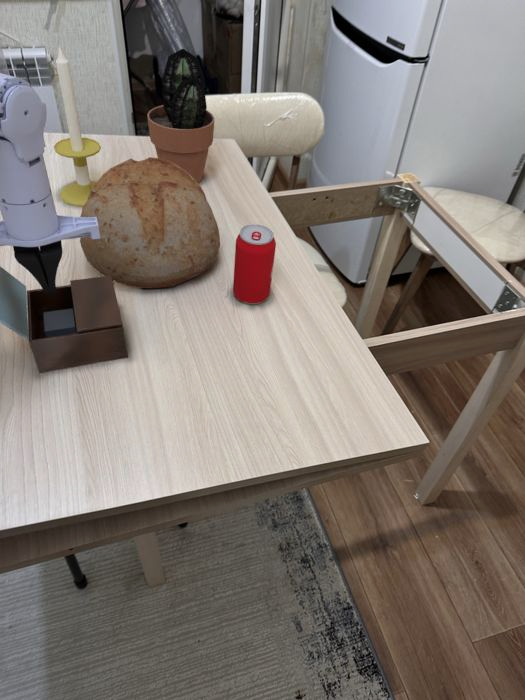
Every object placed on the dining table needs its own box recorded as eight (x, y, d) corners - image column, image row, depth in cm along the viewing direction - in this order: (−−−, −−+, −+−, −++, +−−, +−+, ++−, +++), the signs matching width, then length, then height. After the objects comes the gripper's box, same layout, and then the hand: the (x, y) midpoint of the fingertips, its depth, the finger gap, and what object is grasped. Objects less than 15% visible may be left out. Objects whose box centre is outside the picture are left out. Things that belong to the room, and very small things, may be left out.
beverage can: (270, 286, 84) (278, 225, 76) (267, 309, 80) (275, 247, 71) (235, 281, 84) (239, 220, 76) (229, 304, 80) (233, 241, 71)
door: (28, 337, 61) (25, 339, 61) (26, 286, 68) (24, 287, 68) (-10, 312, 57) (-13, 314, 57) (-8, 259, 64) (-11, 261, 64)
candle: (85, 212, 95) (56, 57, 76) (49, 195, 98) (13, 42, 79) (121, 193, 101) (103, 45, 82) (86, 177, 104) (61, 32, 85)
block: (50, 351, 68) (44, 331, 65) (49, 332, 71) (43, 312, 68) (80, 346, 69) (75, 326, 67) (77, 328, 72) (73, 307, 69)
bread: (84, 213, 94) (70, 136, 84) (203, 208, 100) (204, 135, 89) (84, 300, 77) (66, 216, 66) (228, 288, 83) (233, 209, 72)
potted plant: (138, 178, 106) (126, 49, 89) (176, 157, 115) (172, 36, 97) (189, 198, 102) (188, 67, 85) (224, 175, 111) (229, 52, 93)
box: (39, 373, 66) (27, 338, 61) (36, 321, 73) (25, 285, 68) (127, 357, 69) (122, 323, 65) (117, 309, 76) (111, 274, 72)
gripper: (88, 171, 58) (103, 263, 68) (-48, 179, 54) (-11, 277, 64) (94, 200, 54) (110, 295, 64) (-53, 212, 50) (-12, 312, 59)
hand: (50, 288), depth 63 cm, fingers closed
